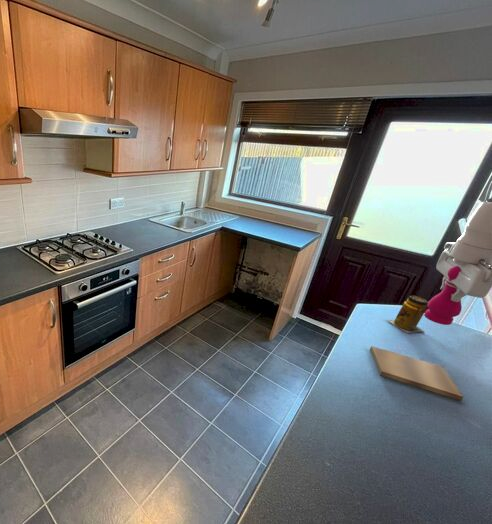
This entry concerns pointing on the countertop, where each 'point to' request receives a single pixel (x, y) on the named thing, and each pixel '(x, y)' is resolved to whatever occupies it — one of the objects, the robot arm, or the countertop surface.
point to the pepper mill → (445, 301)
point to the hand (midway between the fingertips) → (448, 295)
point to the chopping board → (415, 372)
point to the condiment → (410, 314)
